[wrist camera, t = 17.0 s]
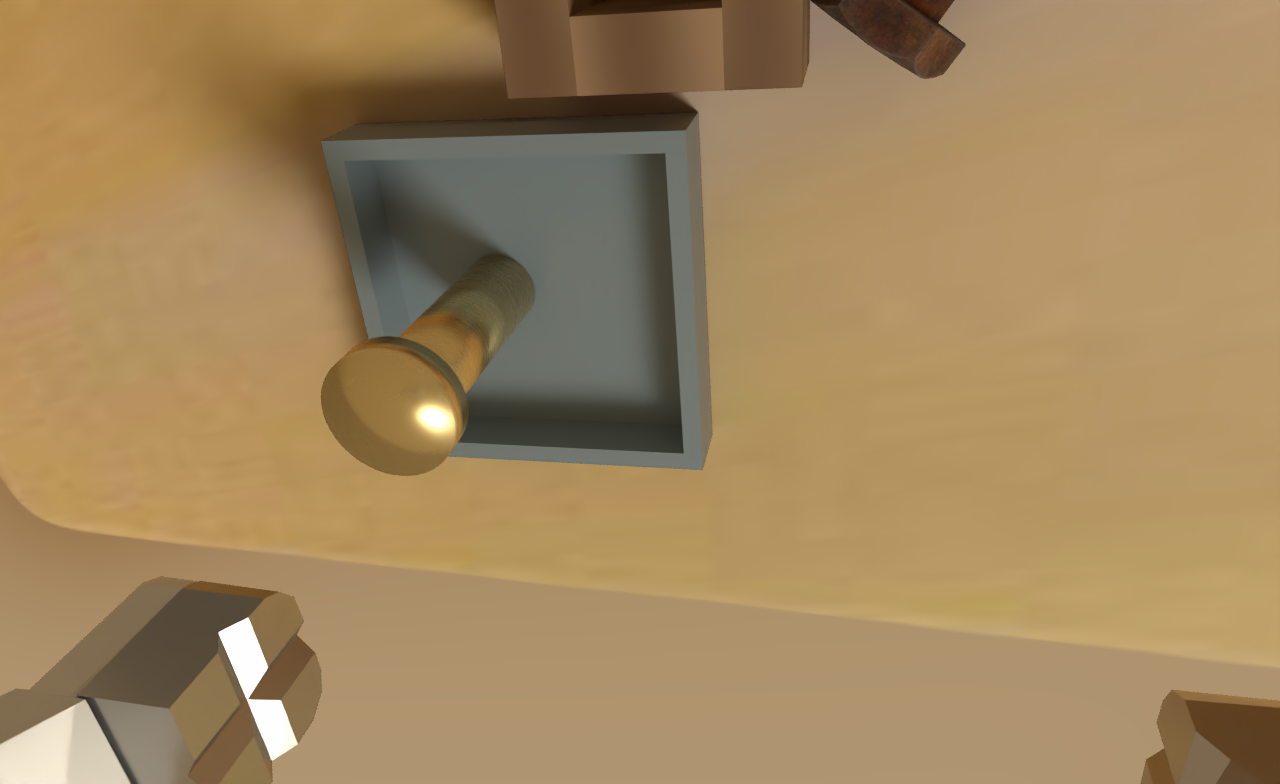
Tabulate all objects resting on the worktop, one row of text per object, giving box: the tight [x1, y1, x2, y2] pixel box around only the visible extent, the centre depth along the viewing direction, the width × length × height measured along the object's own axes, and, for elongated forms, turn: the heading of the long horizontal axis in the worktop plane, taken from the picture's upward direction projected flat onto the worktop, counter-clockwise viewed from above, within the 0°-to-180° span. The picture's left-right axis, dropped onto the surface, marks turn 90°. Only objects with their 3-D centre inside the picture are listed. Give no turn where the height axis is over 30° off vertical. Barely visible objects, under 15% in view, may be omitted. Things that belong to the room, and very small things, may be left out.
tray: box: [321, 113, 712, 470], centre depth 39 cm, size 15×15×3 cm
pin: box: [321, 254, 535, 476], centre depth 35 cm, size 5×5×11 cm
